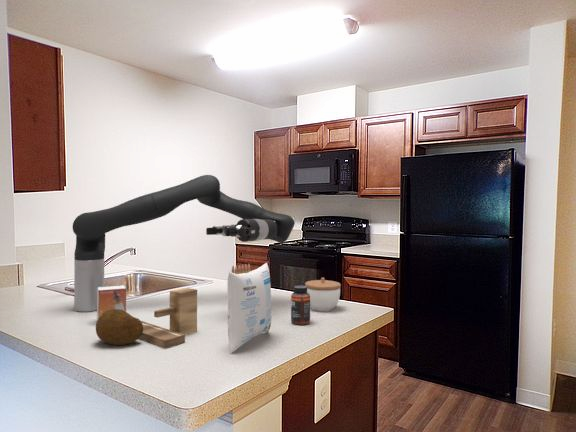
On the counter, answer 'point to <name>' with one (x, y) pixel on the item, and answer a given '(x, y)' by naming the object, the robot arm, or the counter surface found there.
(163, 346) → the walnut board
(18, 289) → the counter surface
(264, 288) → the pouch
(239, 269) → the ammunition clip
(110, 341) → the potato
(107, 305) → the small box
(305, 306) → the supplement bottle
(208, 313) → the counter surface
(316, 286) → the lidded bowl
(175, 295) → the tan block
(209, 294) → the counter surface
